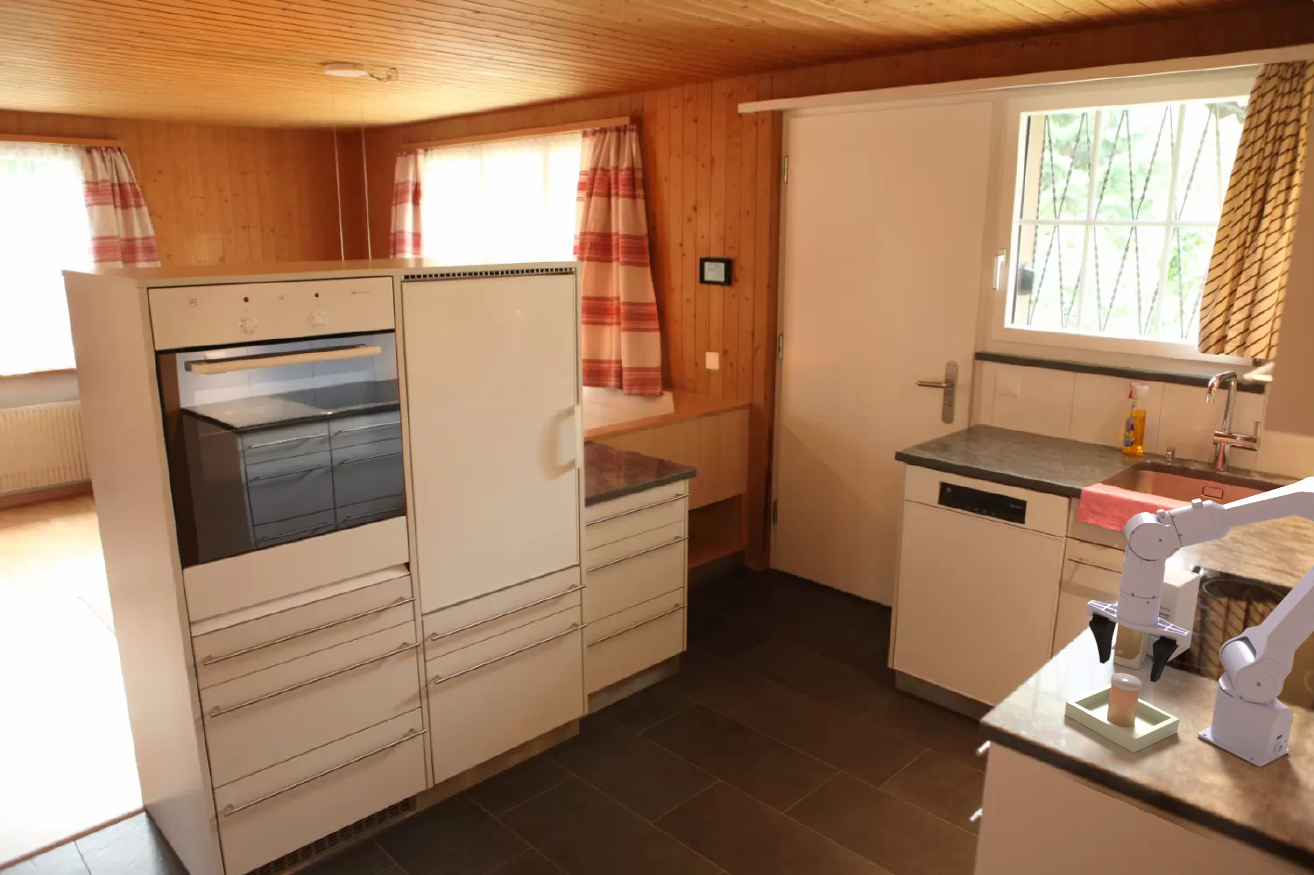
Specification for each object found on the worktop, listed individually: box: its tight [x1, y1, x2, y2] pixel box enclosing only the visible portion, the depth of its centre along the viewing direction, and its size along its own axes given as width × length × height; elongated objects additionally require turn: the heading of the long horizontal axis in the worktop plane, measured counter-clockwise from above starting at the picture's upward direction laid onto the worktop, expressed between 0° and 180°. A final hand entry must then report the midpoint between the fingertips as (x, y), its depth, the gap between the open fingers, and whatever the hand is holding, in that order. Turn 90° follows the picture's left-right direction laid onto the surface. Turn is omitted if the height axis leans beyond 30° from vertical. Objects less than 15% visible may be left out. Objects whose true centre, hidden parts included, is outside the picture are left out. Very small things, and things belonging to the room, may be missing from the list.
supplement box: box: [1146, 563, 1202, 663], centre depth 165 cm, size 9×9×15 cm
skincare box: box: [1112, 623, 1149, 671], centre depth 160 cm, size 6×4×12 cm
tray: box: [1064, 683, 1180, 754], centre depth 142 cm, size 12×11×2 cm
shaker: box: [1107, 672, 1142, 727], centre depth 141 cm, size 4×4×7 cm
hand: (1129, 670), depth 140 cm, fingers open, 7 cm apart
